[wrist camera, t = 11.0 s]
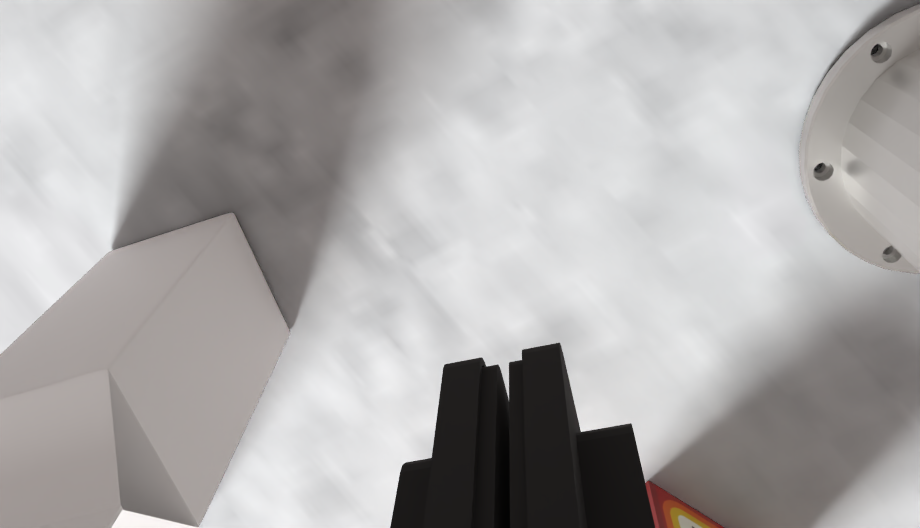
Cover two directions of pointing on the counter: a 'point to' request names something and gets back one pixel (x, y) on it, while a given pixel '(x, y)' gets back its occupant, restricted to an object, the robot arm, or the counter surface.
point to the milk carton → (138, 384)
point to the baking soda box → (674, 511)
